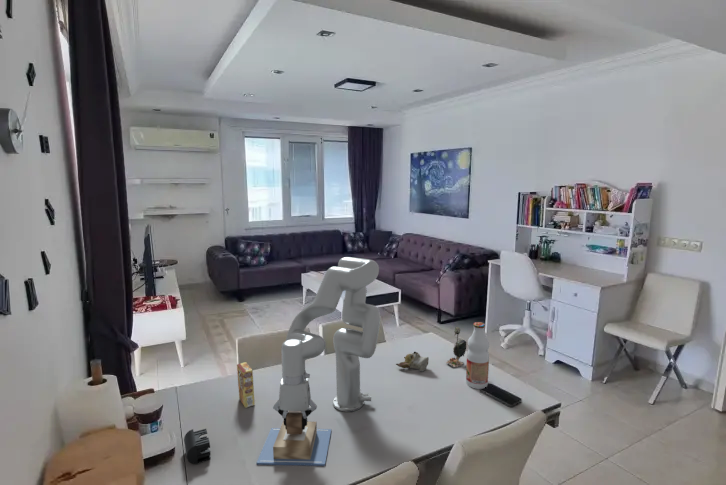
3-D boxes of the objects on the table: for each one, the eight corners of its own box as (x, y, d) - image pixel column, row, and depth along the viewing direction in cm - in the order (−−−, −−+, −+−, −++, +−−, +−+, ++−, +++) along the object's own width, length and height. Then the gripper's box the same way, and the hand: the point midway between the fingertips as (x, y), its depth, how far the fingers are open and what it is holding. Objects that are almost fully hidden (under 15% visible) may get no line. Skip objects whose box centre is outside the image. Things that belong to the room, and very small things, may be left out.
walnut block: (304, 425, 137) (303, 409, 136) (301, 434, 132) (301, 417, 131) (290, 424, 138) (289, 408, 137) (286, 434, 133) (286, 417, 132)
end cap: (184, 449, 135) (183, 431, 134) (207, 443, 138) (205, 425, 137) (187, 468, 126) (185, 448, 125) (211, 460, 130) (209, 441, 128)
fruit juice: (479, 391, 170) (482, 329, 166) (461, 383, 178) (463, 323, 173) (492, 384, 176) (495, 324, 172) (474, 376, 183) (476, 318, 179)
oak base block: (316, 433, 143) (316, 421, 142) (310, 461, 129) (309, 447, 128) (283, 433, 143) (283, 420, 142) (273, 460, 129) (273, 446, 129)
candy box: (255, 405, 161) (253, 369, 159) (244, 408, 159) (242, 372, 156) (248, 395, 168) (246, 361, 166) (238, 398, 166) (236, 364, 164)
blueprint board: (331, 430, 144) (331, 429, 144) (324, 465, 127) (324, 463, 127) (271, 429, 145) (271, 427, 145) (256, 464, 127) (256, 462, 127)
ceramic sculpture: (424, 358, 183) (394, 353, 191) (424, 376, 184) (395, 370, 192) (432, 350, 192) (404, 345, 200) (433, 367, 193) (404, 362, 201)
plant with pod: (471, 364, 195) (472, 325, 192) (452, 369, 191) (453, 329, 188) (460, 358, 203) (462, 320, 200) (442, 362, 198) (443, 323, 195)
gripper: (321, 371, 135) (322, 420, 138) (271, 371, 136) (273, 420, 139) (317, 383, 128) (319, 434, 131) (265, 382, 129) (267, 433, 131)
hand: (295, 426), depth 135 cm, fingers closed on walnut block, 5 cm apart
